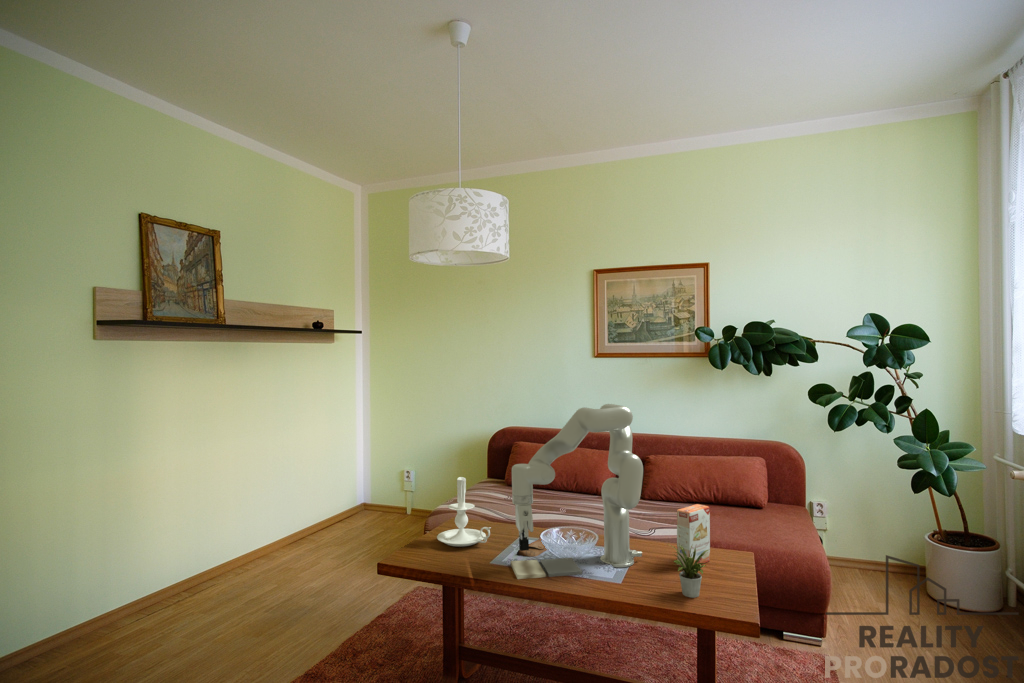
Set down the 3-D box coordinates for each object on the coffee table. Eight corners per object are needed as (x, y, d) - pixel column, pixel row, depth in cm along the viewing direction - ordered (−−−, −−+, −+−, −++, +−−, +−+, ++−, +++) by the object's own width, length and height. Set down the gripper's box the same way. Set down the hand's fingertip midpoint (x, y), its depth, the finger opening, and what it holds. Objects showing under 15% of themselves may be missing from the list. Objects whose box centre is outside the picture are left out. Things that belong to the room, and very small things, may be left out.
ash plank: (539, 565, 209) (539, 559, 209) (548, 579, 196) (548, 573, 196) (510, 566, 207) (510, 561, 208) (517, 581, 194) (517, 575, 194)
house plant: (658, 596, 181) (657, 545, 182) (671, 582, 193) (670, 534, 193) (702, 607, 173) (701, 553, 174) (714, 591, 185) (713, 541, 185)
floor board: (571, 563, 211) (571, 557, 212) (582, 577, 198) (582, 571, 198) (540, 565, 209) (540, 559, 209) (548, 579, 196) (548, 573, 196)
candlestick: (477, 556, 220) (477, 485, 221) (427, 546, 231) (426, 479, 232) (503, 541, 238) (502, 475, 239) (455, 533, 250) (454, 470, 250)
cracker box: (690, 570, 204) (689, 512, 204) (676, 565, 208) (675, 509, 209) (711, 561, 212) (710, 506, 213) (697, 557, 217) (696, 503, 218)
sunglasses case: (535, 561, 213) (527, 544, 215) (521, 568, 216) (514, 551, 218) (556, 548, 229) (549, 532, 231) (543, 554, 232) (536, 539, 234)
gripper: (537, 503, 195) (538, 556, 195) (528, 493, 210) (530, 542, 210) (516, 504, 194) (517, 557, 194) (509, 494, 209) (510, 543, 208)
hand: (524, 549), depth 202 cm, fingers closed
